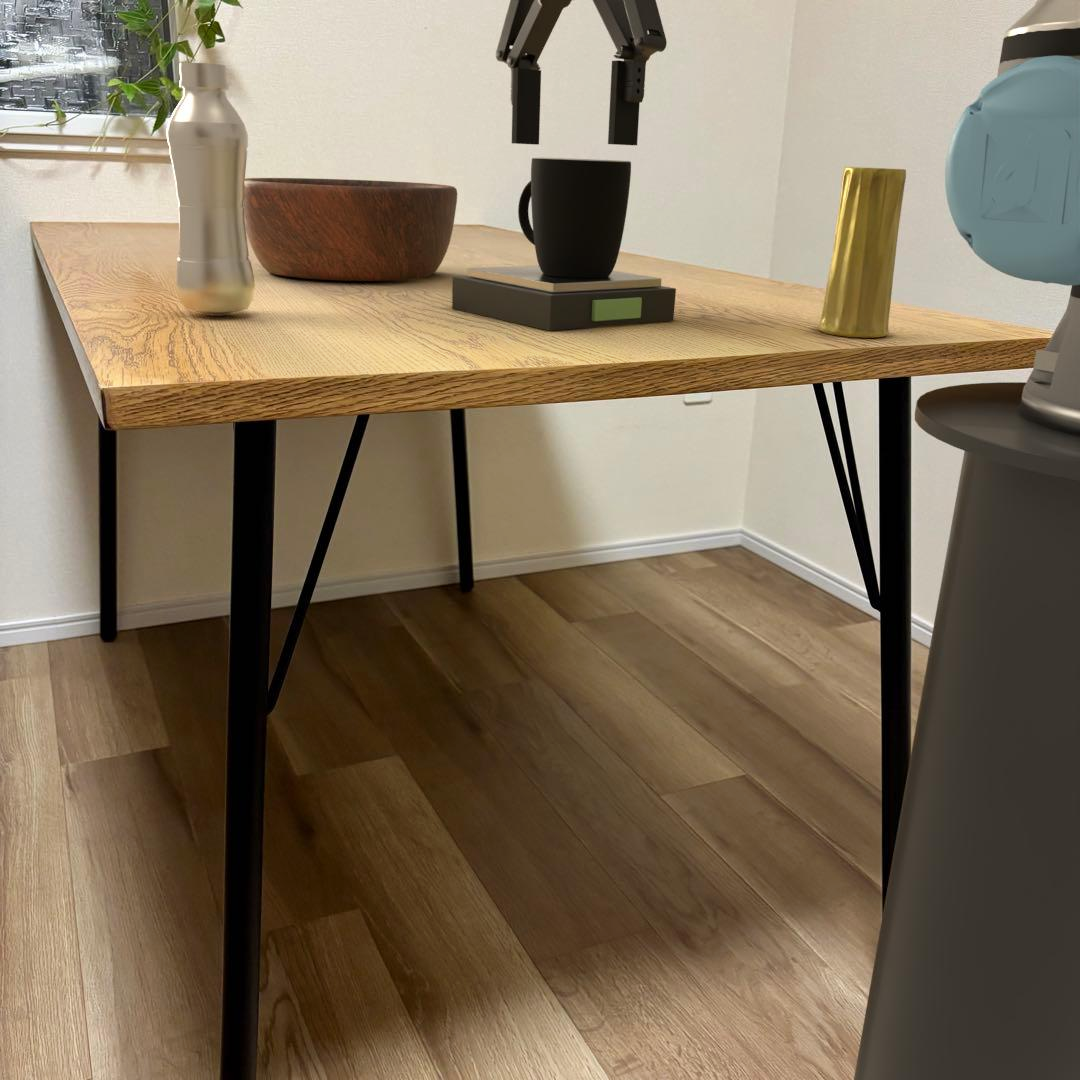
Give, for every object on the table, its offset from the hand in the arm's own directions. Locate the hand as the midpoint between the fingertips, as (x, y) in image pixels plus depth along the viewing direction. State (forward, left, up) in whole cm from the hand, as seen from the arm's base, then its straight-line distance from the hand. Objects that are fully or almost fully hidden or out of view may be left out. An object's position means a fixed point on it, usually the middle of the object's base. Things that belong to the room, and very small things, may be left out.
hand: (571, 144), depth 98 cm
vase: (-20, -18, -15) cm, 31 cm away
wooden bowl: (+37, +2, -15) cm, 40 cm away
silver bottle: (+12, +29, -15) cm, 35 cm away
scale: (0, 0, -15) cm, 15 cm away
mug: (0, 0, -12) cm, 12 cm away
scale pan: (0, 0, -12) cm, 12 cm away
